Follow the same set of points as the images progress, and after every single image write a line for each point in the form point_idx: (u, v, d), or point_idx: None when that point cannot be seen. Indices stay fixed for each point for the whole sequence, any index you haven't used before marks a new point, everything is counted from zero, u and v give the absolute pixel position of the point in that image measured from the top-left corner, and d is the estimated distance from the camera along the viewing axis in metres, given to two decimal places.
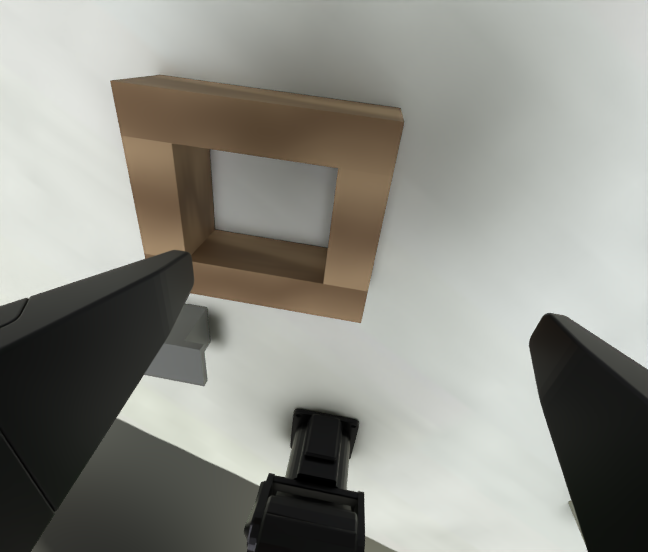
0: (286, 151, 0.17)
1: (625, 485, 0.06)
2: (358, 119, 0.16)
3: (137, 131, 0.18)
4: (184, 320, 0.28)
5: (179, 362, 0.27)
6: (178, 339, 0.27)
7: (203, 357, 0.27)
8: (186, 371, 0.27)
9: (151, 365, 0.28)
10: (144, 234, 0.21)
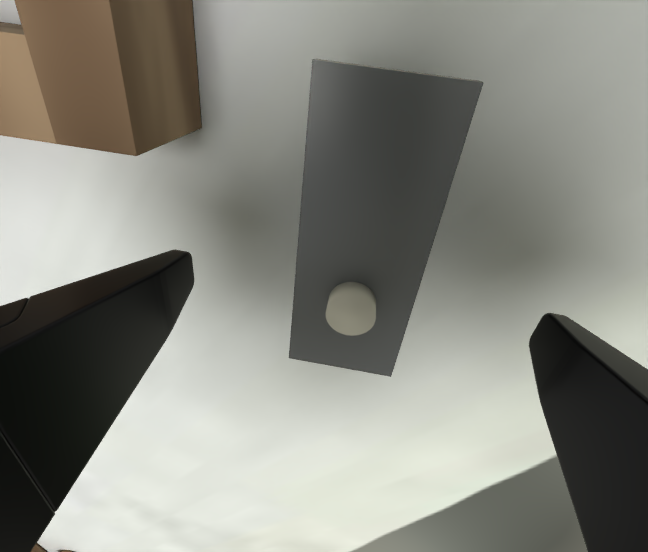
0: None
1: (625, 485, 0.06)
2: None
3: None
4: None
5: (372, 147, 0.09)
6: None
7: (362, 65, 0.09)
8: (410, 133, 0.09)
9: (389, 235, 0.11)
10: (10, 128, 0.11)
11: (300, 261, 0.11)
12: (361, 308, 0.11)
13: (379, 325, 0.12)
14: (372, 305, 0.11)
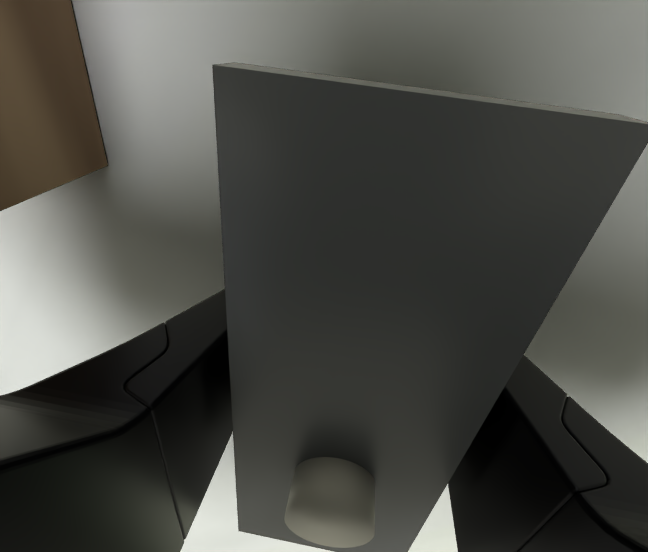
0: None
1: (477, 456, 0.06)
2: None
3: None
4: None
5: (367, 258, 0.04)
6: None
7: (340, 78, 0.04)
8: (454, 235, 0.04)
9: (401, 401, 0.05)
10: None
11: (239, 424, 0.06)
12: (348, 519, 0.06)
13: (381, 511, 0.07)
14: (368, 514, 0.06)
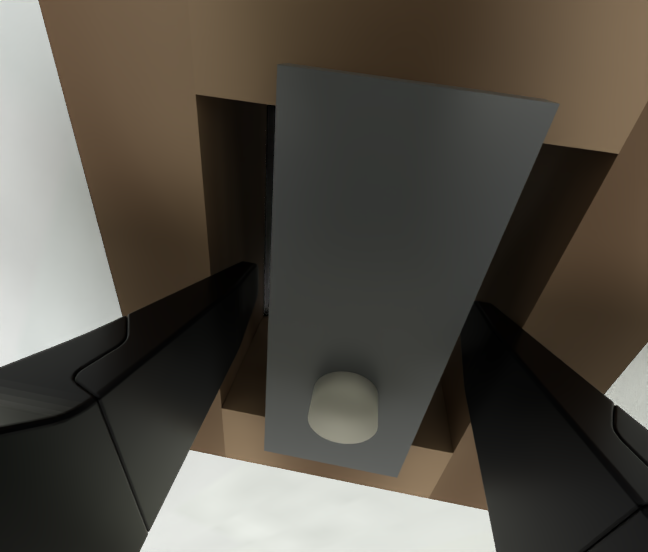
0: (187, 229, 0.08)
1: (519, 464, 0.06)
2: (55, 33, 0.06)
3: (214, 439, 0.12)
4: None
5: (375, 199, 0.06)
6: None
7: (358, 74, 0.05)
8: (434, 181, 0.06)
9: (399, 317, 0.07)
10: (389, 486, 0.12)
11: (273, 344, 0.08)
12: (358, 414, 0.08)
13: (382, 422, 0.09)
14: (374, 410, 0.08)
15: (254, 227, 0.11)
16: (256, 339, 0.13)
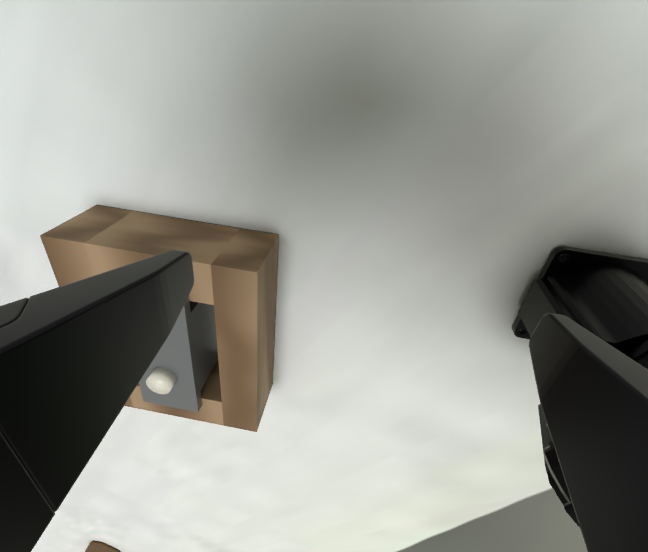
0: None
1: (625, 485, 0.06)
2: (54, 268, 0.20)
3: None
4: None
5: None
6: None
7: None
8: None
9: (170, 348, 0.22)
10: (205, 419, 0.26)
11: None
12: (161, 382, 0.22)
13: (182, 387, 0.23)
14: (167, 381, 0.22)
15: None
16: None
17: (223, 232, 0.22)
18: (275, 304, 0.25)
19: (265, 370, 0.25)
